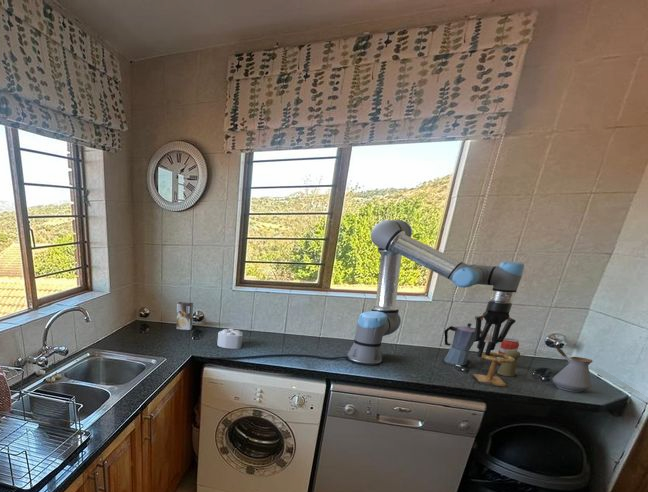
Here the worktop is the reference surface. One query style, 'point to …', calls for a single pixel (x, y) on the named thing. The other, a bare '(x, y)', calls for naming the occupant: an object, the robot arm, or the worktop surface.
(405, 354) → the worktop surface
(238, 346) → the lumpy-topped squat cylinder
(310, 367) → the worktop surface
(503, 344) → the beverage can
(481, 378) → the wooden peg stand
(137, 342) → the worktop surface
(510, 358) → the ring
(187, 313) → the coffee box
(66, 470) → the worktop surface
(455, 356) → the moka pot
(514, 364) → the cork
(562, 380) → the coffee pot
